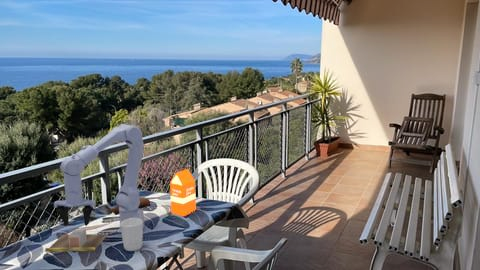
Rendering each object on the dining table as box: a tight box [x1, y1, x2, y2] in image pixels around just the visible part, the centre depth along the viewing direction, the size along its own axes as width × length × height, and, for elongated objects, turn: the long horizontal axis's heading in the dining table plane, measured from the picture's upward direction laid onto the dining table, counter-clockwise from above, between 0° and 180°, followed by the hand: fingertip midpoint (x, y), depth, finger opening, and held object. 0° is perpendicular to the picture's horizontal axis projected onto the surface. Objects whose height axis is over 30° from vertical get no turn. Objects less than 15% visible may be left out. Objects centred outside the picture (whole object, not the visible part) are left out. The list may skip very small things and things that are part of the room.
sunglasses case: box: [109, 197, 151, 215], centre depth 180 cm, size 18×7×7 cm
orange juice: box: [169, 168, 197, 217], centre depth 173 cm, size 8×9×20 cm
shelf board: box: [44, 233, 108, 253], centre depth 143 cm, size 18×14×2 cm
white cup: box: [121, 218, 144, 252], centre depth 139 cm, size 8×8×10 cm
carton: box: [68, 228, 87, 248], centre depth 140 cm, size 4×6×5 cm, turn 0°
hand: (76, 224), depth 140 cm, fingers open, 7 cm apart
